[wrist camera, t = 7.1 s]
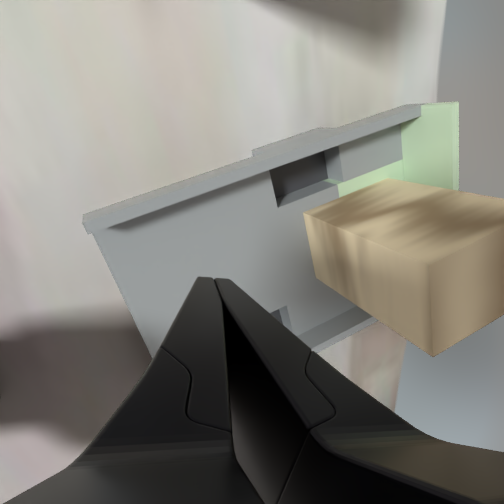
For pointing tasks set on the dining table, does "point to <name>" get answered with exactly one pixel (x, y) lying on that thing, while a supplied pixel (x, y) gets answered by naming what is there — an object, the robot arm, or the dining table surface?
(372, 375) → the dining table surface
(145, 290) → the lane
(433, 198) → the block
